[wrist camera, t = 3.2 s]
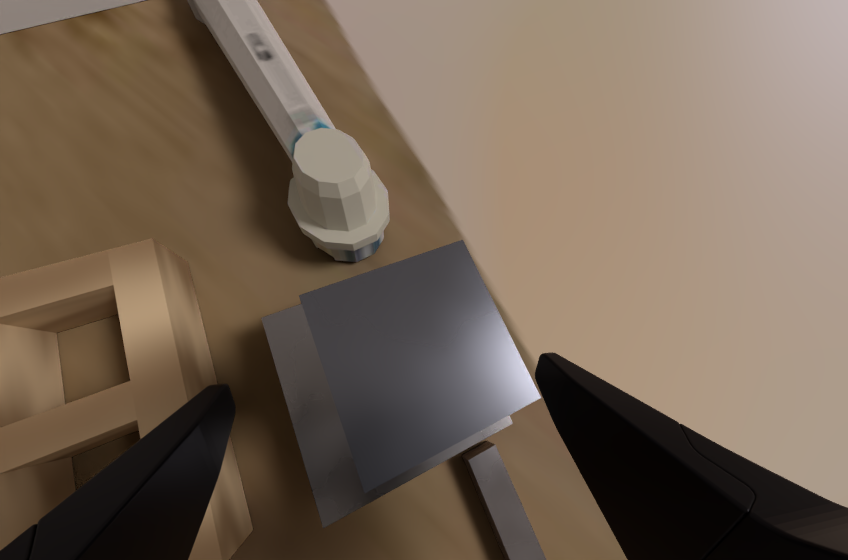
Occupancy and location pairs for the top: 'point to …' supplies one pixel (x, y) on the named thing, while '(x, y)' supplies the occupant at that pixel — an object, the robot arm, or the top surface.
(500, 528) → the bar
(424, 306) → the tall grey square pillar
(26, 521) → the rack
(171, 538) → the robot arm
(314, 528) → the top surface
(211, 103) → the top surface
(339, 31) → the top surface
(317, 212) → the white bulb-headed handheld tool
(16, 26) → the grey arched slab
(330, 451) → the socket
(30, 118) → the top surface
